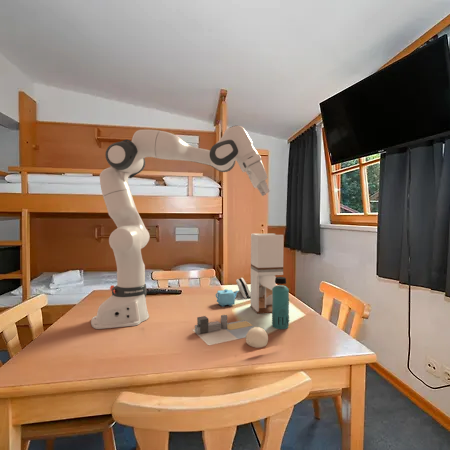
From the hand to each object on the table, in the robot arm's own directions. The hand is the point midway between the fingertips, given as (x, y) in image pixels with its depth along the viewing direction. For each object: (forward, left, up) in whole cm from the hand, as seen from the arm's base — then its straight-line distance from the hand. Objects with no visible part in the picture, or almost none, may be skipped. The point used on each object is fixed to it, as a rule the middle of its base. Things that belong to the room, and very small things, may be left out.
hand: (265, 194), depth 117 cm
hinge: (+14, +40, -52) cm, 67 cm away
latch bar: (-26, -2, -50) cm, 57 cm away
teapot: (-3, +27, -52) cm, 59 cm away
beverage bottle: (0, -10, -52) cm, 53 cm away
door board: (-20, -5, -52) cm, 56 cm away
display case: (+7, +9, -52) cm, 53 cm away
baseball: (-16, -19, -52) cm, 58 cm away
